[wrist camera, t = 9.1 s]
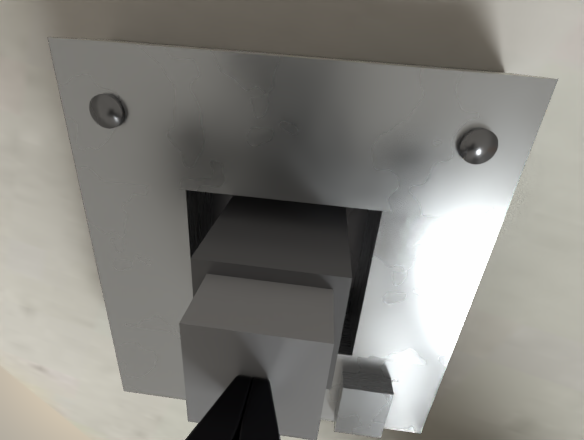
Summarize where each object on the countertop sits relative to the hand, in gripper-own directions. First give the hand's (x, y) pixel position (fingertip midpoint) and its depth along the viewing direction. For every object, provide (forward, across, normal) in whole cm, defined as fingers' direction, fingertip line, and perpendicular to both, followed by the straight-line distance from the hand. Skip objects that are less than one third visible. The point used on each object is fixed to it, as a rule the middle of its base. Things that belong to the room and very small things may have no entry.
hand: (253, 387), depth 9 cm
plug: (+7, 0, 0) cm, 7 cm away
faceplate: (+8, 0, 0) cm, 8 cm away
